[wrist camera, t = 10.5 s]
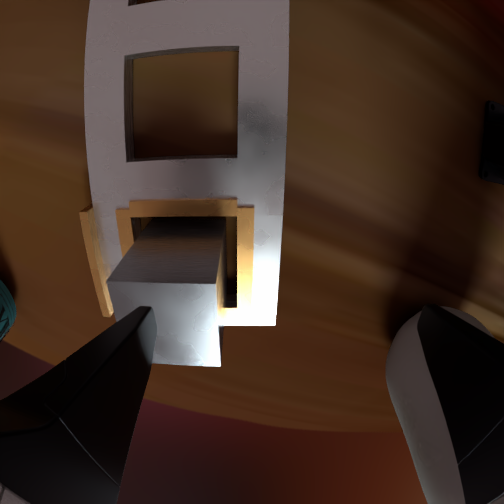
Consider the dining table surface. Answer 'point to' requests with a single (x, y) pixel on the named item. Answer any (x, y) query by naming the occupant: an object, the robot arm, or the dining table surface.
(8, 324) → the beverage bottle
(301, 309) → the dining table surface
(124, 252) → the white flat frame
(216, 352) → the steel block
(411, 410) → the glass bottle
